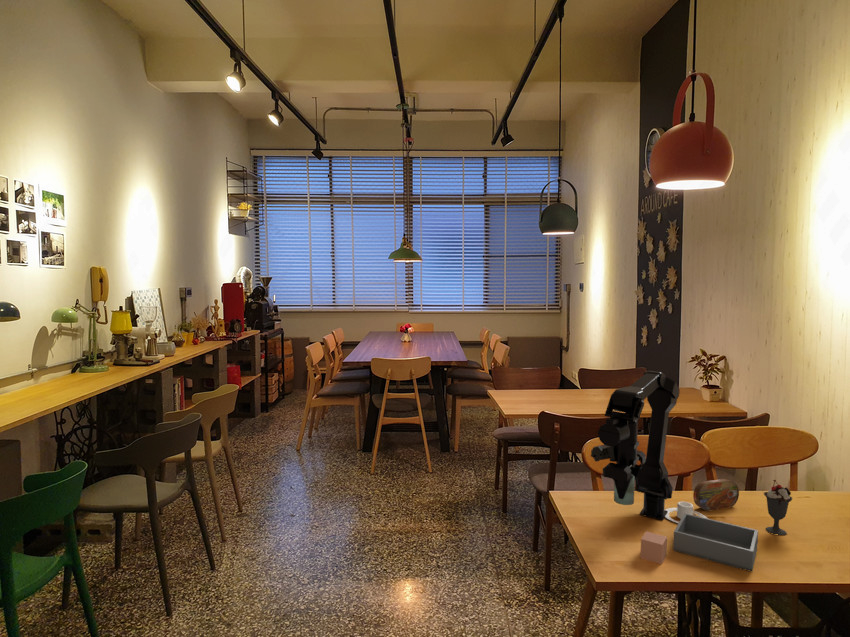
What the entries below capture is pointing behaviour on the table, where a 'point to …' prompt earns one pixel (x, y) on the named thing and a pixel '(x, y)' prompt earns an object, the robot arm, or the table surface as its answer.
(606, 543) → the table surface
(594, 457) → the robot arm
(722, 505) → the tin
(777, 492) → the sundae
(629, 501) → the cylinder
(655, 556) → the cube
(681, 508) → the candle holder
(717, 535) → the tote
